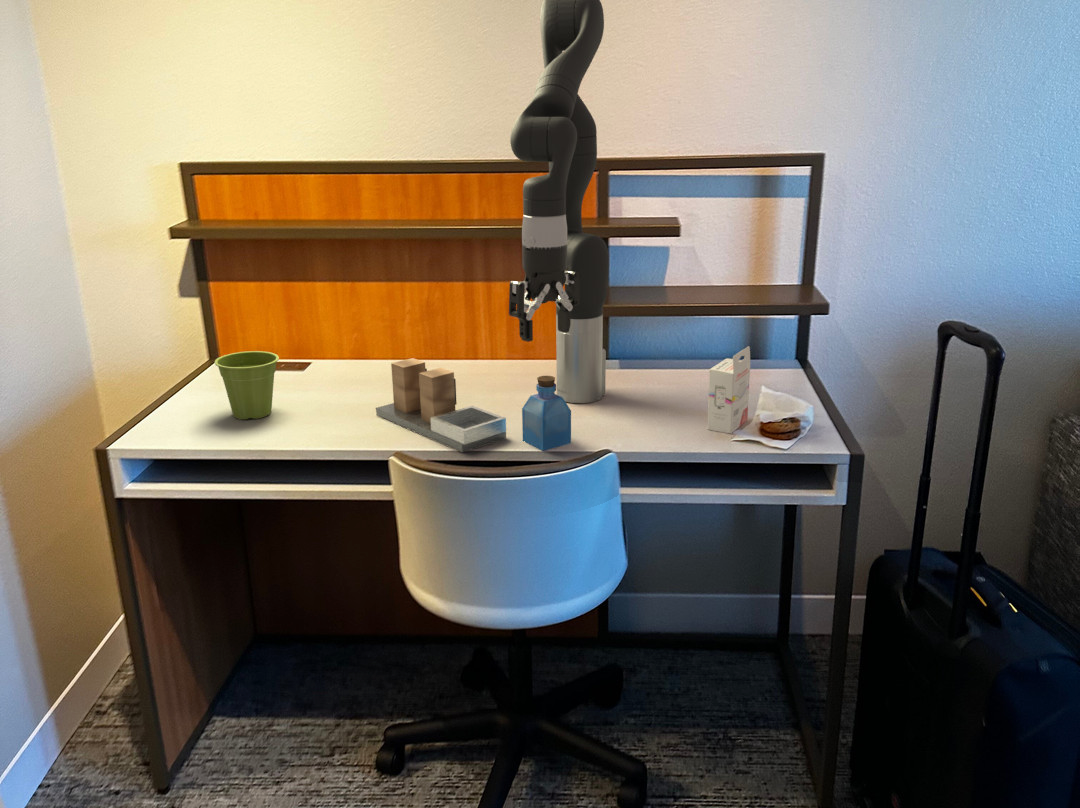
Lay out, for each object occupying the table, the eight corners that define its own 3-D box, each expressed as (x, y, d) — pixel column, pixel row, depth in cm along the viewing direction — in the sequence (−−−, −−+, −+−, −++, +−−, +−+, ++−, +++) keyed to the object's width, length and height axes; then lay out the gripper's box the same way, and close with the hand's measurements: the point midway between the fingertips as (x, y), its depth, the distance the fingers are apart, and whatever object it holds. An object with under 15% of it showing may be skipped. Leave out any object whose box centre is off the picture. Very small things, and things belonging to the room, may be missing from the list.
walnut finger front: (445, 412, 181) (443, 367, 178) (458, 417, 178) (456, 371, 175) (421, 419, 177) (418, 373, 174) (434, 424, 174) (431, 377, 172)
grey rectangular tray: (418, 403, 191) (417, 384, 189) (507, 438, 171) (506, 417, 170) (376, 415, 184) (375, 395, 183) (463, 453, 165) (462, 431, 164)
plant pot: (268, 426, 179) (261, 369, 175) (210, 422, 181) (202, 366, 178) (294, 405, 190) (289, 351, 186) (239, 403, 192) (233, 349, 189)
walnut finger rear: (417, 401, 187) (415, 357, 184) (429, 406, 184) (427, 361, 181) (394, 407, 184) (391, 363, 181) (406, 412, 181) (403, 367, 178)
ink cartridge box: (723, 416, 181) (727, 341, 177) (747, 420, 179) (752, 345, 174) (705, 429, 175) (709, 352, 170) (731, 434, 172) (735, 356, 167)
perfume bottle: (571, 443, 169) (571, 379, 165) (542, 451, 166) (542, 385, 162) (550, 433, 174) (550, 371, 170) (522, 441, 170) (521, 377, 166)
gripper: (560, 234, 165) (560, 325, 170) (497, 244, 156) (499, 339, 161) (590, 239, 160) (590, 332, 165) (527, 249, 151) (528, 348, 156)
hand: (545, 336), depth 163 cm, fingers open, 8 cm apart
